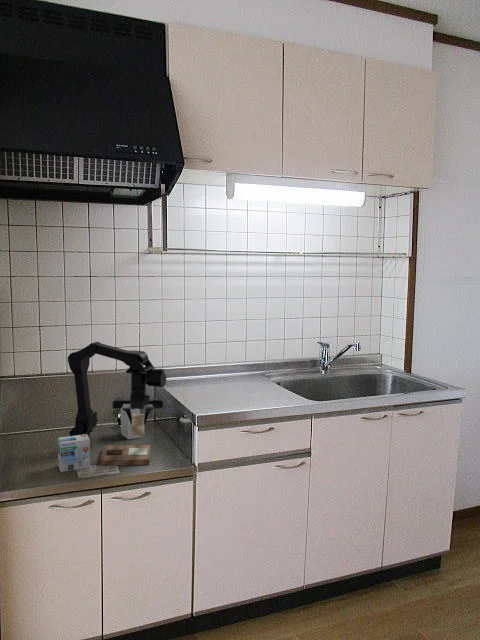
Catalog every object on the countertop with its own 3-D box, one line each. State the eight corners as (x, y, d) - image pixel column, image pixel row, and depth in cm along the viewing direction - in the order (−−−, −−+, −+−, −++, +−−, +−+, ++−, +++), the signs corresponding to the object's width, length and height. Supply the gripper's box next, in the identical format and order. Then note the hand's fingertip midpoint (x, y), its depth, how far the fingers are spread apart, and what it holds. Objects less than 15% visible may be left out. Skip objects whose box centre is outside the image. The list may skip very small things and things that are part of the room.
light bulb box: (60, 472, 185) (60, 443, 184) (57, 465, 191) (57, 437, 190) (91, 468, 190) (91, 439, 189) (87, 461, 196) (87, 433, 195)
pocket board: (99, 465, 192) (99, 459, 192) (104, 450, 207) (104, 444, 207) (149, 464, 195) (149, 458, 195) (150, 449, 210) (150, 444, 209)
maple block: (131, 435, 198) (131, 417, 197) (132, 431, 202) (132, 414, 201) (143, 435, 199) (143, 417, 198) (144, 431, 203) (144, 413, 202)
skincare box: (140, 437, 223) (140, 403, 221) (127, 440, 219) (127, 405, 218) (132, 431, 230) (133, 399, 228) (119, 434, 226) (120, 400, 225)
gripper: (111, 390, 189) (111, 431, 191) (163, 390, 192) (162, 431, 193) (114, 382, 200) (113, 422, 202) (163, 382, 202) (162, 421, 204)
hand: (138, 424), depth 200 cm, fingers closed on maple block, 4 cm apart
